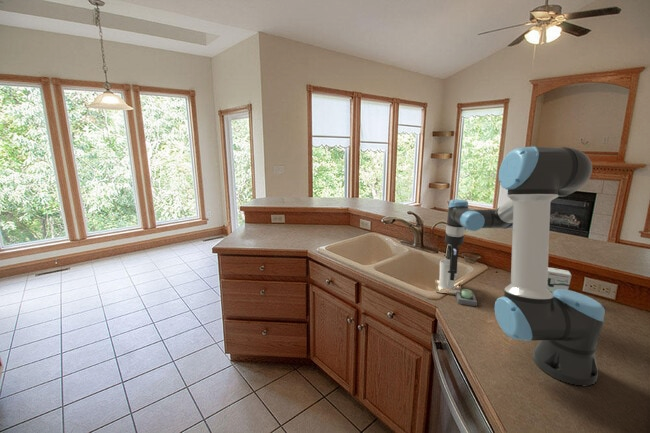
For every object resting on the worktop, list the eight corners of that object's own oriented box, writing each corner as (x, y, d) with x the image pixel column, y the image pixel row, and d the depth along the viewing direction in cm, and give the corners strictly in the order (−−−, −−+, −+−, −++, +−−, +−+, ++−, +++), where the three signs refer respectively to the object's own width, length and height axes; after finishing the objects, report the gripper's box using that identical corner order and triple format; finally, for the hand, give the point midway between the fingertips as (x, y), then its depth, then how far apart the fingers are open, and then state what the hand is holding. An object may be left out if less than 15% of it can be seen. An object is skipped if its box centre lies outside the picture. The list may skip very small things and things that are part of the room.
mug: (446, 291, 134) (448, 265, 131) (435, 285, 140) (436, 260, 137) (463, 286, 138) (464, 261, 136) (451, 280, 144) (452, 256, 142)
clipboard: (463, 296, 131) (463, 293, 131) (436, 292, 134) (436, 290, 134) (459, 283, 144) (459, 281, 143) (434, 280, 147) (435, 278, 146)
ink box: (542, 295, 134) (547, 270, 131) (540, 290, 138) (545, 266, 135) (566, 300, 130) (572, 274, 127) (564, 295, 134) (569, 270, 131)
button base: (476, 306, 124) (477, 301, 123) (457, 303, 126) (458, 299, 125) (473, 298, 130) (473, 293, 130) (455, 295, 132) (456, 291, 132)
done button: (472, 300, 125) (473, 294, 125) (461, 298, 126) (462, 292, 126) (470, 295, 129) (471, 289, 128) (460, 294, 130) (461, 288, 129)
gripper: (468, 243, 121) (461, 293, 126) (460, 228, 143) (455, 271, 148) (448, 241, 123) (442, 290, 128) (443, 226, 145) (438, 269, 150)
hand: (449, 280), depth 138 cm, fingers open, 11 cm apart
